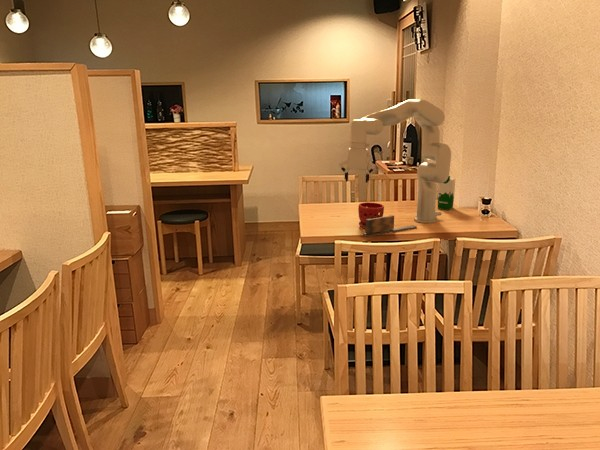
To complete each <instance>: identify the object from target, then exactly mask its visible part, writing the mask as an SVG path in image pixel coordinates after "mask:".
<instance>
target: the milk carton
mask: <svg viewBox="0 0 600 450" xmlns="http://www.w3.org/2000/svg"><path fill="white" fill-rule="evenodd" d="M455 186H456V178H454V177H451V176H450V175H449V176H448V179H447V180H446V181H445V182H444V183H438V192H437V210H444V211H451V210H452V209H453V208H454V203H455V202H454V201H455V191H456V190H455V188H456V187H455Z"/></svg>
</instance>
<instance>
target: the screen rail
mask: <svg viewBox="0 0 600 450" xmlns="http://www.w3.org/2000/svg"><path fill="white" fill-rule="evenodd" d="M417 227H418V226H417V225H414V224H410V225H406V226H401V227H400V226H399V227H394V229H392V230H386V231H381V232H375V233H372V234H367V233H365V232H364V233H363V236H364V237H365V238H369V237H373V236H381V235H386V234H385V233H387V234H391V233H390V232H393V233H397V231H398V232H403V230H404V231H408V229H410V230H414V228H415V229H417Z"/></svg>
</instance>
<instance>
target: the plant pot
mask: <svg viewBox="0 0 600 450" xmlns="http://www.w3.org/2000/svg"><path fill="white" fill-rule="evenodd" d="M384 213H385V206H384V205H383V204H382V203H377V202H370V201H369V202H362V203H359V204H358V219H359V222H358V225H359V226H360V228H362V229H366V219H373V218H379V217H384Z"/></svg>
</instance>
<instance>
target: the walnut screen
mask: <svg viewBox="0 0 600 450" xmlns="http://www.w3.org/2000/svg"><path fill="white" fill-rule="evenodd" d="M394 228H395V215H386V216H383V217H379V218H373V219H366V228H365V232H364V233H367V234H372V233H375V232H381V231H386V230H392V229H394Z"/></svg>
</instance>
